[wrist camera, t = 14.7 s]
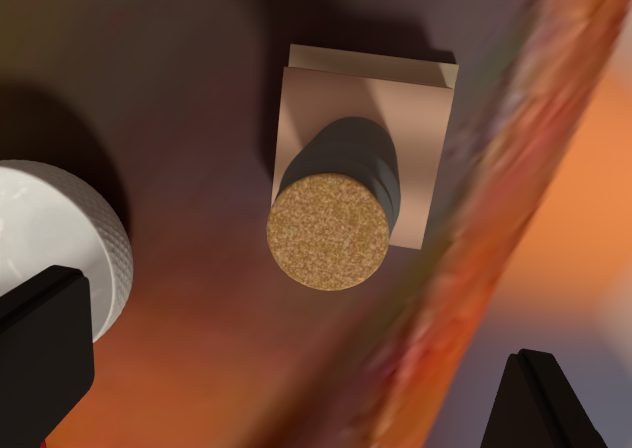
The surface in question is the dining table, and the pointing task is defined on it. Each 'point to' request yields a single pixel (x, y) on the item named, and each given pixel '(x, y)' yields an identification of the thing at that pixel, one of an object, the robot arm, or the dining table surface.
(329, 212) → the bottle
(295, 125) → the pedestal
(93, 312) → the cereal bowl
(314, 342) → the dining table surface
